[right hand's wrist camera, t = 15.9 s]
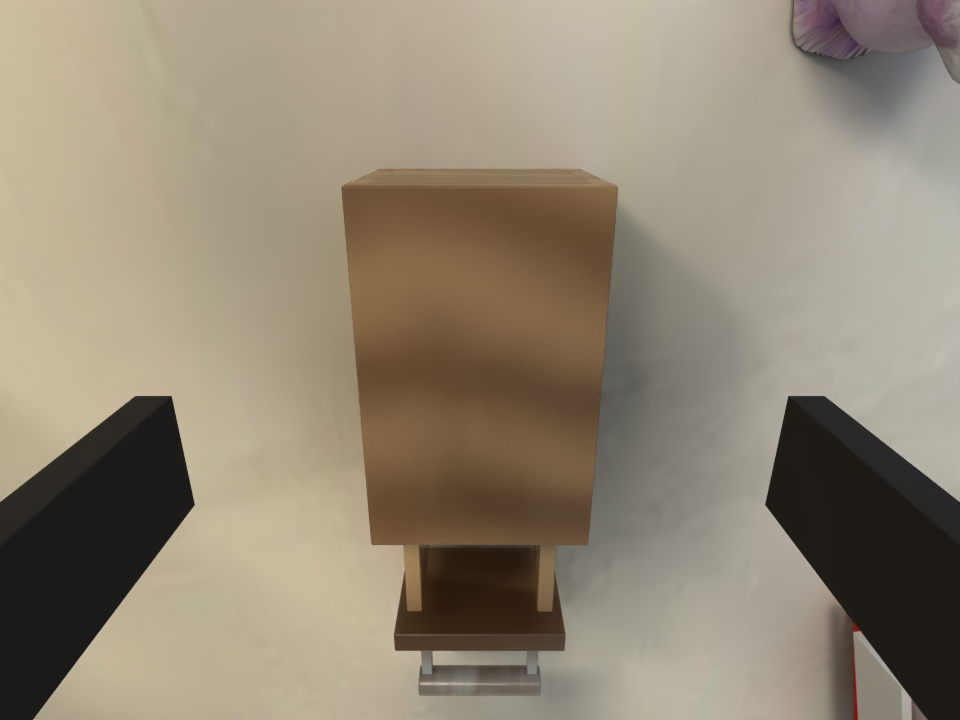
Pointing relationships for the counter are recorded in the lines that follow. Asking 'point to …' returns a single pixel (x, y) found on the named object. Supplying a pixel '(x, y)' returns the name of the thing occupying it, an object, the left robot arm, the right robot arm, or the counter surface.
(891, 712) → the toy
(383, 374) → the cabinet
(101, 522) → the right robot arm
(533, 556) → the drawer
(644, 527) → the counter surface
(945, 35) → the figurine
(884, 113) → the counter surface
